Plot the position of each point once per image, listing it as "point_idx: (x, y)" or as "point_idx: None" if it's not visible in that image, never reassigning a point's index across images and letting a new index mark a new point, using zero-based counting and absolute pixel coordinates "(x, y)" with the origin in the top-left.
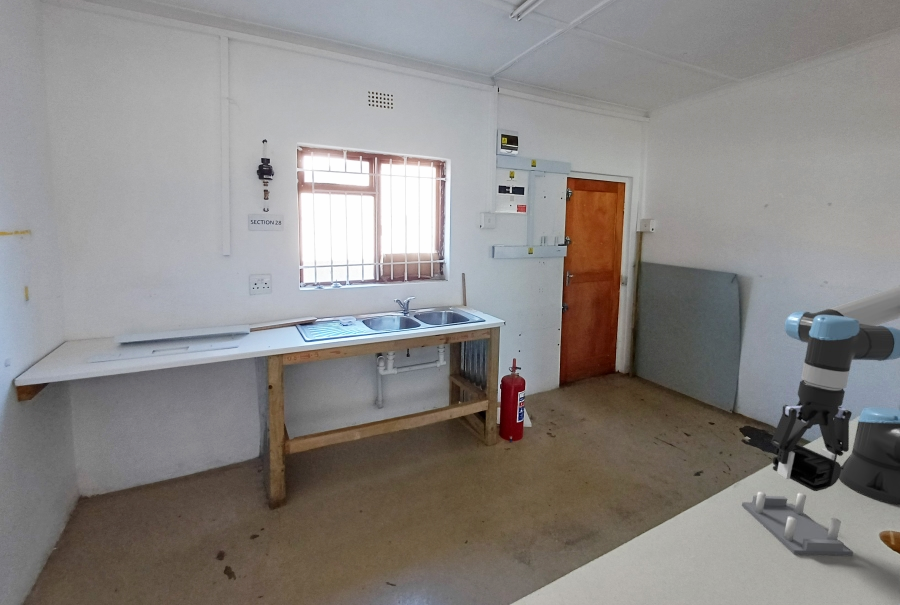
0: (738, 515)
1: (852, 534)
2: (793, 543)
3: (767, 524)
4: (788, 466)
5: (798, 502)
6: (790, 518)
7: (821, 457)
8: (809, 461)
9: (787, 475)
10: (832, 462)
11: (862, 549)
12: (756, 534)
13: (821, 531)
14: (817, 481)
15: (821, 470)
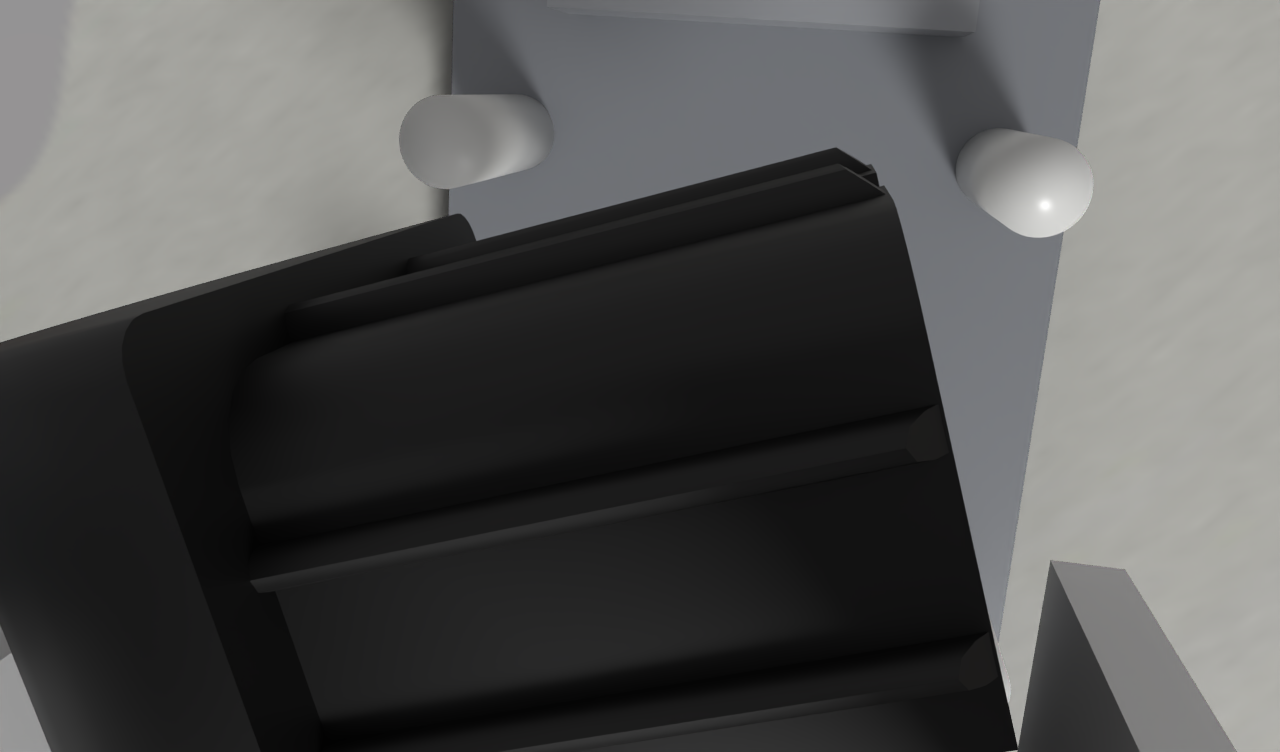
0: (1162, 575)
1: (193, 242)
2: (1010, 92)
3: (1031, 384)
4: (1226, 737)
5: None
6: (1061, 195)
7: (285, 734)
8: (980, 588)
9: (1139, 604)
10: (176, 394)
11: (283, 46)
12: (1234, 295)
13: None
14: (863, 169)
15: (772, 227)
